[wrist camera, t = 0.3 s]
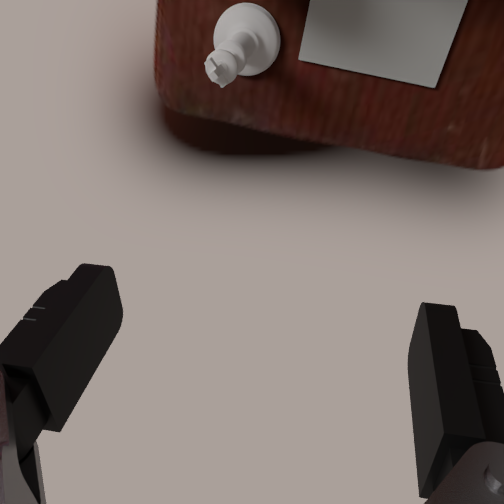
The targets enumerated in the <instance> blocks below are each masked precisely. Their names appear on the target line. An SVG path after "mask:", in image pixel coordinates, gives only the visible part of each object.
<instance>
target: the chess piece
mask: <svg viewBox="0 0 504 504" xmlns="http://www.w3.org/2000/svg"><path fill="white" fill-rule="evenodd" d="M214 47H215V51H213V52H212V53H211V54H210V55H209V56H208V57H207V60H206V62H205V63H204V64H205V67H206V72H207V74H208V76H209V78H210V79H211V81H212V82H213V81H214V82H215V83H217V84H219V85H220V86H221V88H223V87H224V86H226V85H227V84H228V83H230V82H232V81H233V80H234V79H235V78H236V76H237V74H238V75H242V76H252V75H256V74H259V73H261V72H263V71H265V70H266V69H267V68H269V67H270V66H271V65H272V63H273V62H274V61H275V59H276V57H277V55H278V52H279V49H280V32H279V28H278V26H277V23H276V21H275V20H274V18H273V17H272V15H271V14H270V13H269V12H268V11H267V10H265V9H264V8H262V7H261V6H259V5H256V4H253V3H240V4H236V5H234V6H232V7H230V8H229V9H227V10H226V11H225V12H224V13H223V14H222V15H221V17H220V18H219V20H218V22H217V25H216V27H215V31H214Z"/></svg>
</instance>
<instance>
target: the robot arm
mask: <svg viewBox="0 0 504 504" xmlns="http://www.w3.org/2000/svg"><path fill="white" fill-rule="evenodd" d="M122 318H123V308H122V304H121V300H120V296H119V291H118V287H117V282H116V278H115V274H114V271H113V269H112V268H111V267H110V266H103V265H94V264H85V263H84V264H81V265H79V267H78V268H77V269H76V270H75V271H74V273H73V274H72V275H71V276H70V278H69V279H68V280H61V281H59V282H58V283H56V284H55V285H53V286H52V287H50V288H49V289H47V290H46V291H44V293H43V294H42V295H41V296H40V297H39V299H38V300H37V301H36V302H35V303H34V304H33V308H30V309H29V310H28V312H27V313H26V314H25V315H24V317H23V320H20V321H19V322H18V324H17V325H16V326H15V327H14V329H13V330H12V331H11V332H10V333H9V335H8V336H7V337H6V338H5V339H4V341H3V342H2V343H1V344H0V504H46V500H45V493H44V485H43V479H42V471H41V464H40V457H39V450H38V445H37V442H36V439H37V438H38V436H39V434H40V433H41V431H42V430H49V431H55V432H60V431H61V430H62V428H63V426H64V425H65V423H66V421H67V419H68V418H69V416H70V414H71V412H72V411H73V409H74V407H75V406H76V404H77V402H78V400H79V399H80V397H81V395H82V393H83V392H84V390H85V388H86V387H87V385H88V383H89V381H90V380H91V378H92V376H93V374H94V373H95V371H96V369H97V368H98V366H99V364H100V362H101V361H102V359H103V357H104V355H105V354H106V352H107V350H108V349H109V347H110V345H111V343H112V342H113V340H114V338H115V336H116V334H117V333H118V331H119V329H120V327H121V323H122ZM408 378H409V389H410V400H411V411H412V421H413V433H414V443H415V453H416V465H417V476H418V487H419V497H421V498H426V499H428V500H427V501H426V502H425V503H424V504H504V393H503V389H502V387H501V386H500V383H501V382H500V378H499V375H498V371H497V370H496V364H495V361H494V357H493V354H492V350H491V347H490V346H489V345H488V344H487V342H486V341H485V340H484V339H483V337H482V336H481V335H480V334H479V332H478V331H477V330H470V329H462V328H461V327H460V322H459V319H458V314H457V310H456V308H455V306H451V305H442V304H433V303H424V302H422V303H421V305H420V308H419V312H418V316H417V319H416V323H415V327H414V331H413V335H412V339H411V342H410V347H409V353H408Z"/></svg>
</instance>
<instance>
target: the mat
mask: <svg viewBox="0 0 504 504" xmlns="http://www.w3.org/2000/svg"><path fill="white" fill-rule="evenodd" d="M467 2H468V0H310V4H309V9H308V14H307V19H306V24H305V29H304V34H303V39H302V44H301V49H300V54H299V59H298V60H302V61H307V62H312V63H317V64H322V65H326V66H331V67H336V68H341V69H346V70H350V71H355V72H360V73H365V74H370V75H374V76H379V77H384V78H389V79H393V80H398V81H403V82H408V83H413V84H417V85H422V86H427V87H432V88H435V86H436V84H437V81H438V78H439V76H440V73H441V70H442V68H443V65H444V62H445V60H446V57H447V55H448V52H449V49H450V47H451V44H452V41H453V39H454V36H455V33H456V31H457V28H458V25H459V23H460V20H461V17H462V15H463V12H464V10H465V7H466V4H467Z"/></svg>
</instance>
